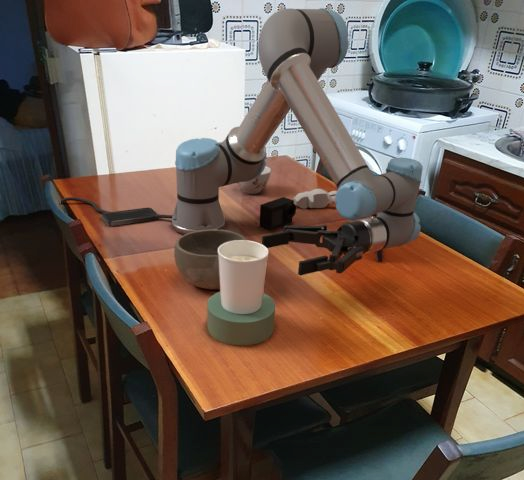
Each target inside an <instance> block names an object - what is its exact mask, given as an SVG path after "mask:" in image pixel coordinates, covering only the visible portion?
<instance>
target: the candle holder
mask: <svg viewBox="0 0 524 480" xmlns="http://www.w3.org/2000/svg"><path fill="white" fill-rule="evenodd" d="M269 252H270V251H269V248H266V247H265V246H264V245H262V243H260V242H257V241H255V240H254V241H253V240H248V239H247V240H234V241H229V242H226V243H223V244H222V245H220V246H219V248H218V259H219V277H220V289H219V292H220V295H221V304H222V307H223V308H224V309H225V310H227V311H228V312H231V313H235V314H250V313H254V312H256V311H258V310H259V309H260V308H261V305H262V299H263V293H264V290H265V282H266V276H267V275H266V274H267V266H268V258H269V255H270V253H269Z"/></svg>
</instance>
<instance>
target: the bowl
mask: <svg viewBox="0 0 524 480" xmlns="http://www.w3.org/2000/svg"><path fill="white" fill-rule="evenodd" d="M234 240H248V239H247V238H246V237H245V236H243V234H240V233H238V232H235V231H232V230H228V229H223V230H217V229H208V230H200V231H194V232H190V233H187V234H182V235H181V236H179V237H178V238H177V239H176V241H175V244H174V254H173V255H174V262H175V265H176V268H177V270H178V272H179V273H180V275H181V276H182V277H183V279H184V280H185V281H186V282H187V283H188V284H190V285H193V286H194V287H197V288H201V289H206V290H220V277H219V259H218V248H219V246H220V245H222V244H223V243H226V242H229V241H234Z"/></svg>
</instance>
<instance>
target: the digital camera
mask: <svg viewBox="0 0 524 480" xmlns="http://www.w3.org/2000/svg"><path fill="white" fill-rule="evenodd" d="M296 212H297V206H296V205H295V203H294V200H293V199H291V198H288V197H285V196H282V197H279V198H277V199H273V200H270V201H268V202H265V203H261V204H260V205H259V225H258V226H259V228H260V229H263V230H264V231H265V230H266V231H268V232H272V231H274V230H277V229H280V228H284V226H289V225H290V224H292V223H293V219H294V216H295V215H296Z"/></svg>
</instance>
